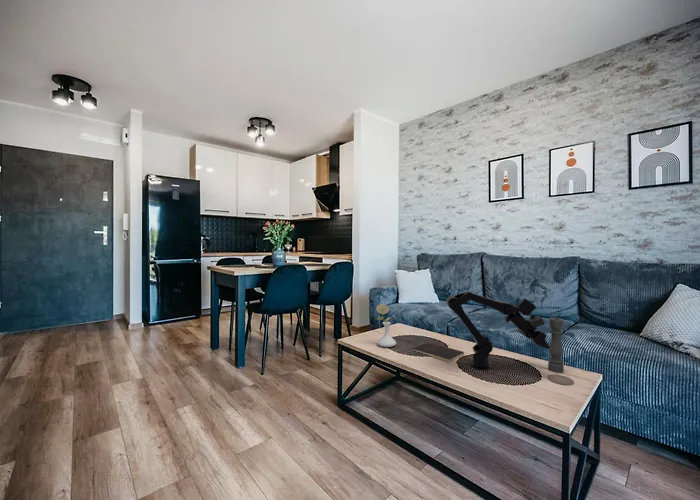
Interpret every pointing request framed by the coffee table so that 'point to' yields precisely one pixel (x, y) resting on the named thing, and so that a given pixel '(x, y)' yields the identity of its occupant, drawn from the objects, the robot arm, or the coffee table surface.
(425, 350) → the hardcover book
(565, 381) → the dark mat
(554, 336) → the candle holder
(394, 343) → the flower in vase
